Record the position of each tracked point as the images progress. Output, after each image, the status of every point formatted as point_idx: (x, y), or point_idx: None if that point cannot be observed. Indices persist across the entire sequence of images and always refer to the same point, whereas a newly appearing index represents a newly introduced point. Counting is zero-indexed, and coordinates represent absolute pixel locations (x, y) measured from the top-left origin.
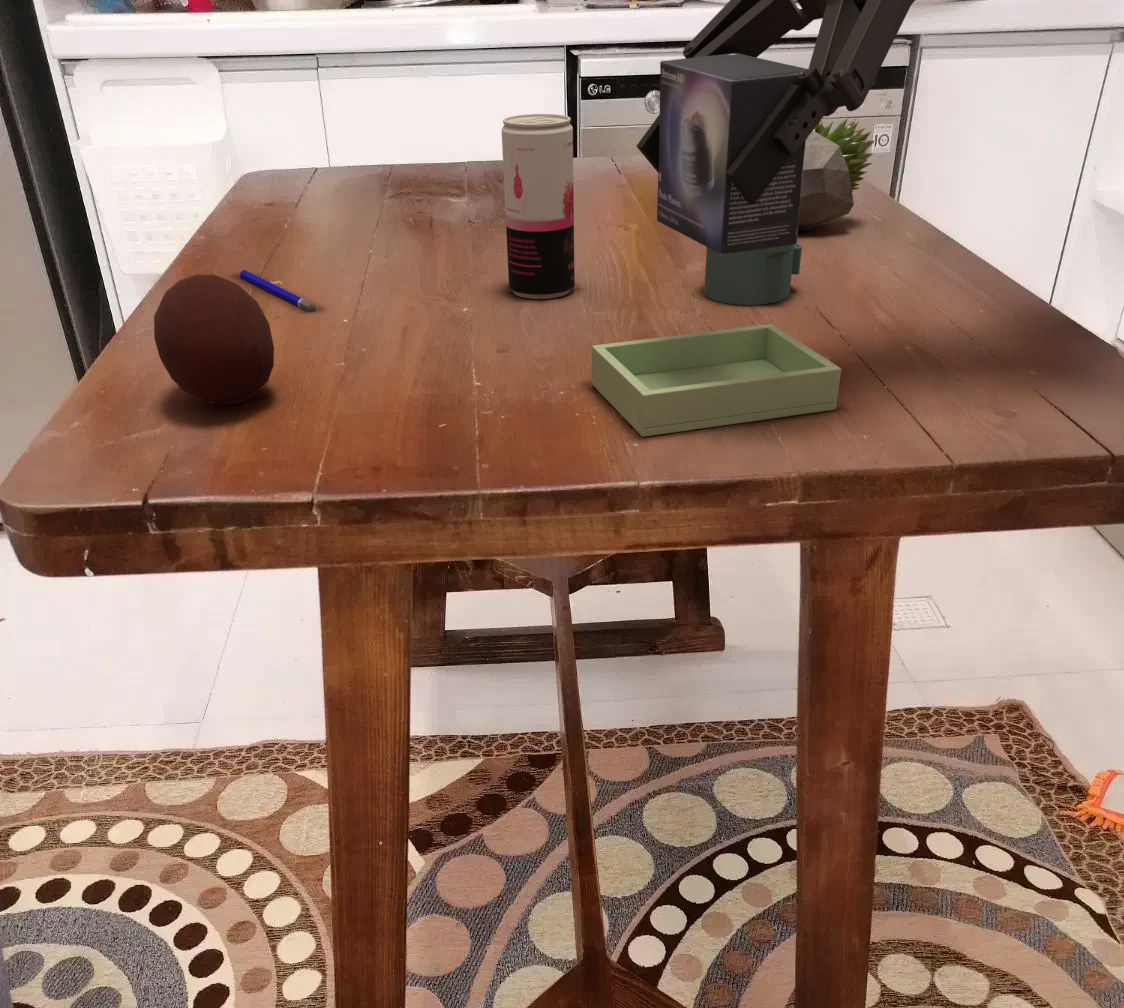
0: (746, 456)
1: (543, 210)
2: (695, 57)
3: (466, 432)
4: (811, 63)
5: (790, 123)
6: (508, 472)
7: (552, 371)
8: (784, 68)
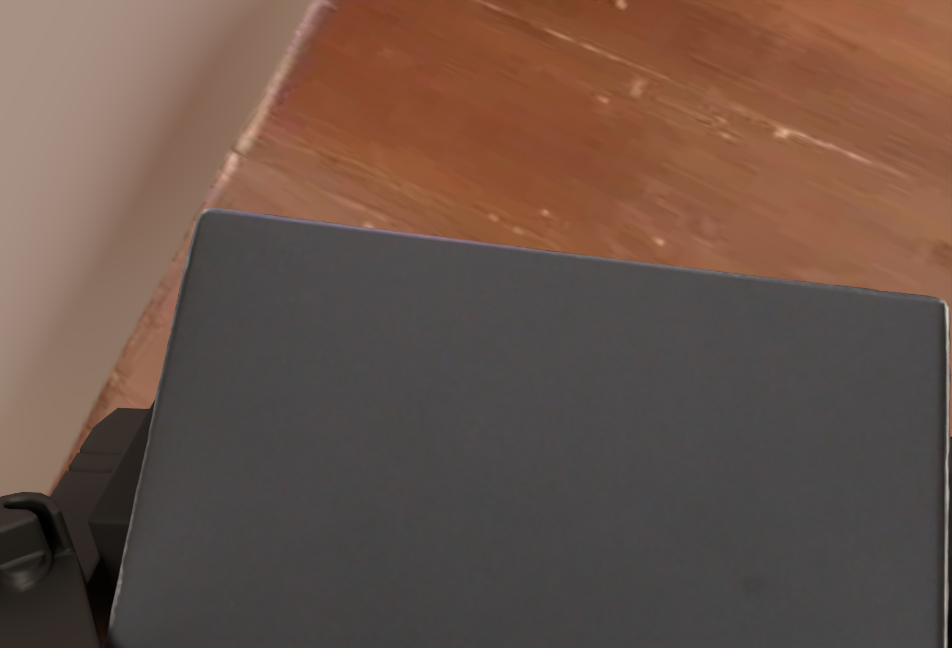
0: None
1: None
2: (926, 491)
3: (571, 22)
4: (81, 635)
5: (102, 452)
6: (387, 9)
7: None
8: (220, 553)
